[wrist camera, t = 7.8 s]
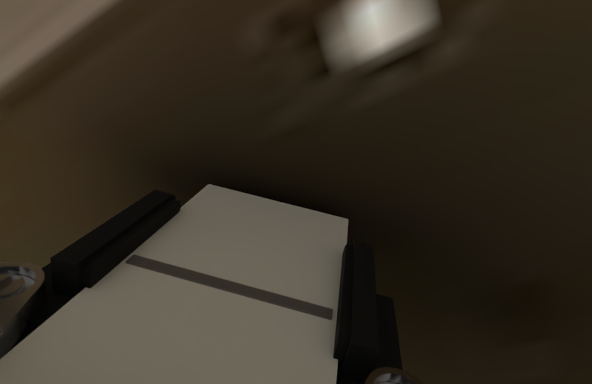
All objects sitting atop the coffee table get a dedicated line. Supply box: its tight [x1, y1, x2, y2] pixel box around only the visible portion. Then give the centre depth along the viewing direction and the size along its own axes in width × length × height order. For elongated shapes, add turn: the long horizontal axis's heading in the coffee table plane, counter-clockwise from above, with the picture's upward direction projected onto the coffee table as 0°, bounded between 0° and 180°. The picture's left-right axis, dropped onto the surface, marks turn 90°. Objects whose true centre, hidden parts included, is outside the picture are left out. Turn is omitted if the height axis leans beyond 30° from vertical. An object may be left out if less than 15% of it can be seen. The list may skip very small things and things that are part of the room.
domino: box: [0, 184, 349, 384], centre depth 8 cm, size 2×5×10 cm, turn 79°
